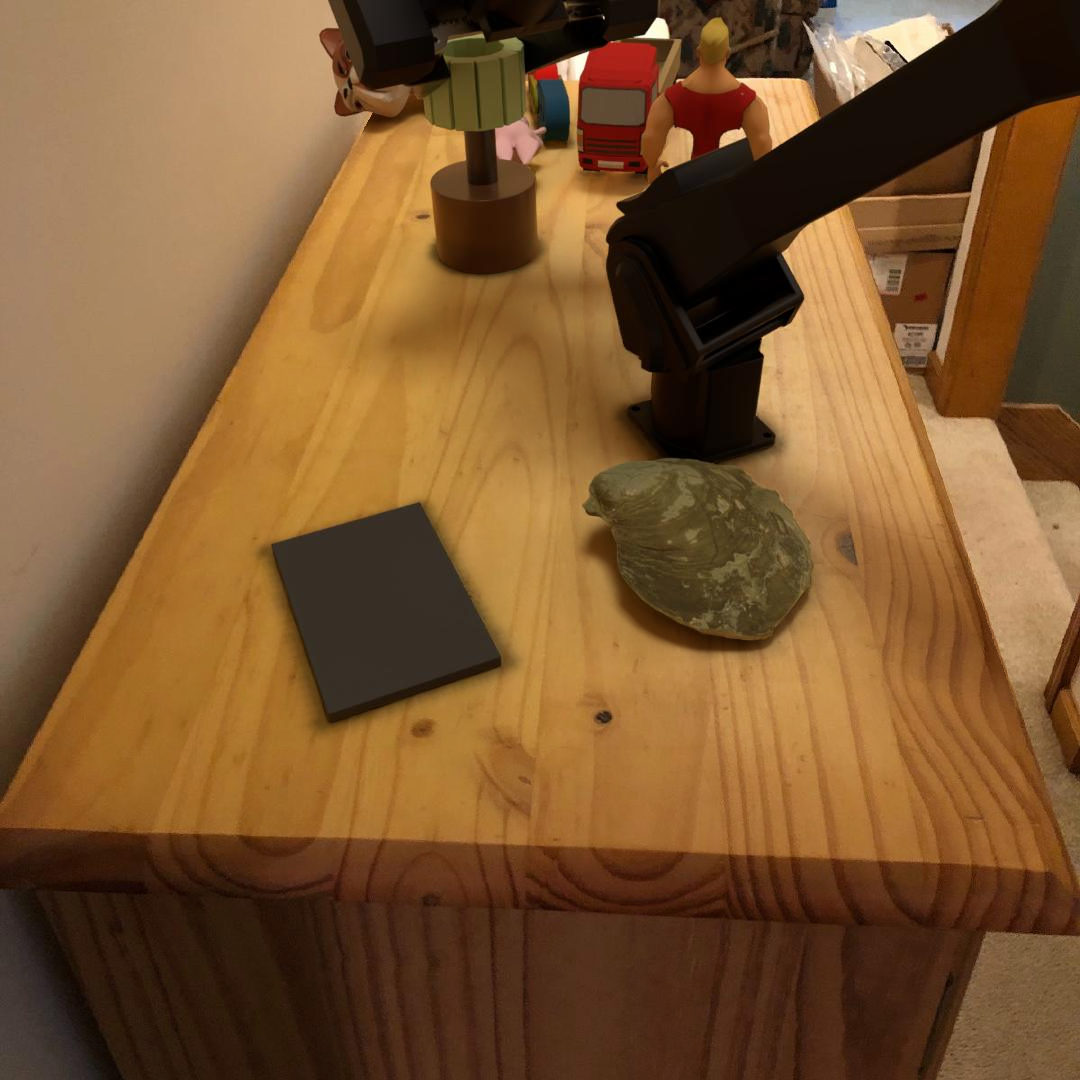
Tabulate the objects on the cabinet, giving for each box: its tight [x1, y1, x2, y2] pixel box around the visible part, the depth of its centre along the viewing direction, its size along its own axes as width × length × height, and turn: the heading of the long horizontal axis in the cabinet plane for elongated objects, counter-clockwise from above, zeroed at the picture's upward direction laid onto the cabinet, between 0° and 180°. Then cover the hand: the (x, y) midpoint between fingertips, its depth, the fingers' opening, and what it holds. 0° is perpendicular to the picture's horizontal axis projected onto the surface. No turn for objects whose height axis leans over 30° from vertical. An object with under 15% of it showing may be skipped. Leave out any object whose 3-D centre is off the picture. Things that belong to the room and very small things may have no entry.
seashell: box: [581, 457, 815, 641], centre depth 49 cm, size 10×7×10 cm
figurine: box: [318, 27, 415, 118], centre depth 99 cm, size 8×18×15 cm
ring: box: [422, 34, 528, 132], centre depth 64 cm, size 6×6×4 cm
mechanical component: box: [527, 63, 571, 142], centre depth 96 cm, size 17×4×3 cm
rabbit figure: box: [495, 115, 546, 166], centre depth 87 cm, size 6×6×15 cm
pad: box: [271, 501, 502, 723], centre depth 49 cm, size 12×8×1 cm, turn 23°
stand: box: [429, 128, 539, 274], centre depth 74 cm, size 8×8×9 cm
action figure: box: [641, 16, 773, 185], centre depth 73 cm, size 10×4×15 cm, turn 80°
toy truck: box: [576, 37, 682, 176], centre depth 87 cm, size 7×21×10 cm, turn 167°
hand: (465, 81), depth 65 cm, fingers closed on ring, 6 cm apart
